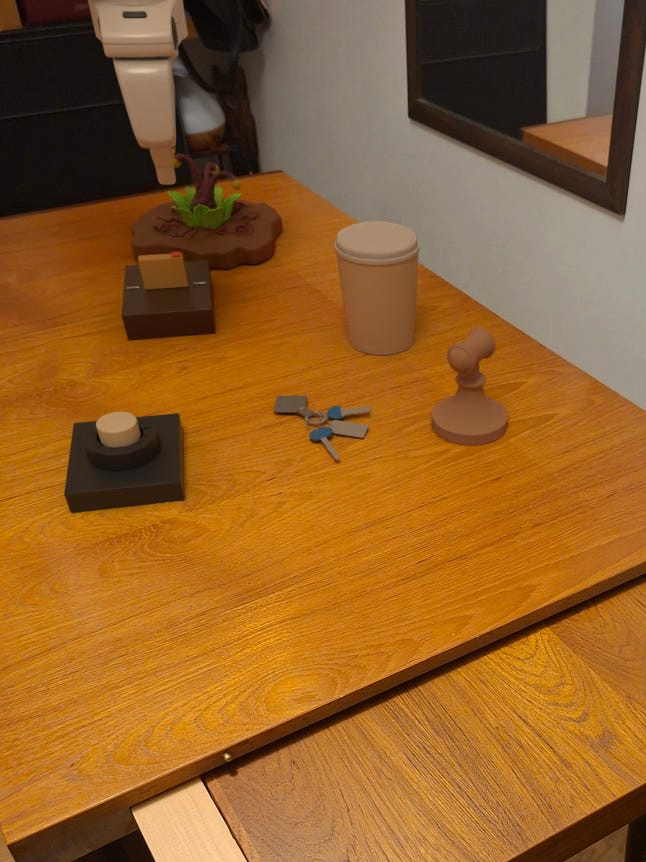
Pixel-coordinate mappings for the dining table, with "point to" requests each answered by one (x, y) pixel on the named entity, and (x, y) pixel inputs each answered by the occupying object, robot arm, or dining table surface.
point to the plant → (208, 224)
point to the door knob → (470, 396)
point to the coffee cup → (378, 285)
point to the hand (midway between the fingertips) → (167, 167)
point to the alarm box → (126, 467)
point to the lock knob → (163, 271)
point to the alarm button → (118, 429)
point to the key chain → (323, 419)
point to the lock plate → (168, 305)
